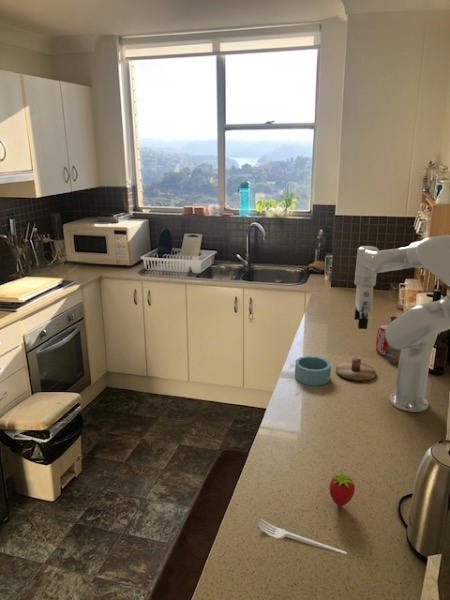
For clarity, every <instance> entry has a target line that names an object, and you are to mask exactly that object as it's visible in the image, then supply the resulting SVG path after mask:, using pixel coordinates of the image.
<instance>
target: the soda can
mask: <svg viewBox="0 0 450 600" xmlns="http://www.w3.org/2000/svg"><path fill="white" fill-rule="evenodd" d="M388 325H389V324H386V323H385V324H380V325H379V328H378V329H377V333H376V340H375V342H376V343H375V352H376V353H378V354H379V355H382V356H386V355H385V351H386V348H387V347H388V346H389V344H388V342H387V340H386V336H385V333H386V329H387V327H388Z"/></svg>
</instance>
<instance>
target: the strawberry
mask: <svg viewBox="0 0 450 600" xmlns="http://www.w3.org/2000/svg"><path fill="white" fill-rule="evenodd" d="M347 474H348V473H347V472H346V473H345V474H344V473H343V472H342V473H341V474H336V473H335V474H334V475H335V476H334V477H332V479H331V480H330V484H329V489H328V490H329V494H330V498H331V499H332V501H333V503H334V504H335V505H336V506H337V508H342V507H344V506H345V505H347V504H348V503H349V502H351V500H352V498H353V496H354V494H355V483H354V481H353V479H351V478H350V475H347Z"/></svg>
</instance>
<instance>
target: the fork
mask: <svg viewBox="0 0 450 600" xmlns="http://www.w3.org/2000/svg"><path fill="white" fill-rule="evenodd" d="M257 527H258V528H259V529H260V530H261V532H262V531H263V533H264V534H266V535H267V536H269V537H272V538H276V539H282V540H283V538H290V539H293V540H296V541H298V542H301V543H304V544H308V545H311V546H315V547H318V548H322V549H326V550H329V551H332V552H336V553H340V554H343V555H347V551H345V550H341V549H339V548H336V547H334V546H330V545H327V544H325V543H322V542H318V541H315V540H313V539H310V538H307V537H304V536H301V535H298V534H295V533H292V532H290V531H287V530H286V529H283V528H280V527H277V526H275V525H273V524H271V523H269V522H267V521H265V520H264V518H263V519H262V518H260V520H259V522H258V524H257Z"/></svg>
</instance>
